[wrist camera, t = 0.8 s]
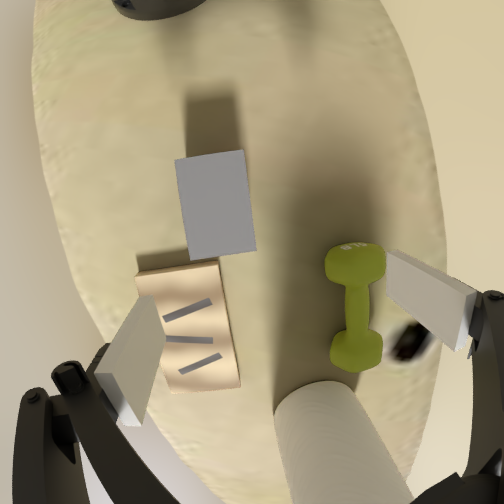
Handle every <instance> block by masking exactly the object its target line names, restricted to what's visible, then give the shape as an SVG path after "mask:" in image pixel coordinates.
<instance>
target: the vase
mask: <svg viewBox="0 0 504 504" xmlns="http://www.w3.org/2000/svg"><path fill="white" fill-rule="evenodd" d="M274 426H275V432H276V437H277V442H278V446H279V450H280V455H281V459H282V463H283V467H284V471H285V475H286V479H287V483H288V487H289V491H290V495H291V499H292V502H293V504H410V503H411V502H412V501H413V500H415V499H414V497H413V495H412V494H411V492H410V490H409V488H408V486H407V484H406V482H405V481H404V479H403V477H402V475H401V473H400V472H399V470H398V468H397V466H396V464H395V463H394V461H393V459H392V457H391V455H390V454H389V452H388V450H387V448H386V447H385V445H384V443H383V441H382V439H381V438H380V436H379V434H378V432H377V431H376V429H375V427H374V425H373V424H372V422H371V420H370V418H369V417H368V415H367V413H366V411H365V410H364V408H363V406H362V405H361V403H360V402H359V400H358V398H357V397H356V395H355V394H354V393H353V391H352V390H351V389H350V388H349V387H348V386H347V385H345V384H343V383H340V382H336V381H321V382H315V383H312V384H308V385H306V386H303V387H301V388H299V389H297V390H295V391H294V392H292V393H290V394H289V395H288V396H287V397H285V398H284V399H283V400H282V401H281V403H280V404H279V405H278V407H277V409H276V411H275V414H274Z"/></svg>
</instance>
